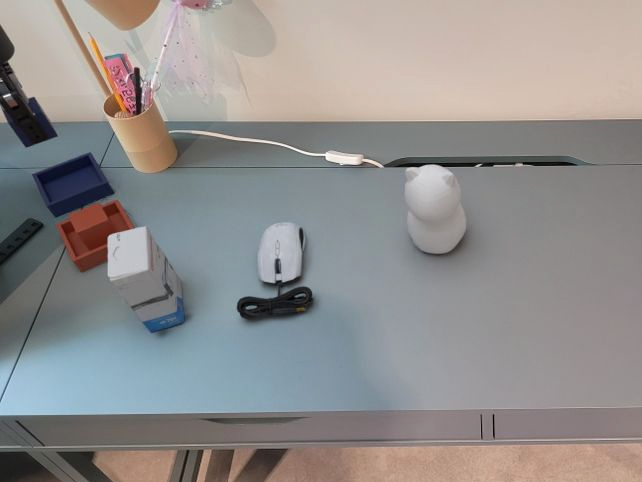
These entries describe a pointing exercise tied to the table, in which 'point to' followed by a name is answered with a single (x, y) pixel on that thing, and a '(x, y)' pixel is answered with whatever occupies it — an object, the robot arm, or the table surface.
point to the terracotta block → (92, 226)
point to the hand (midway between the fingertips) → (36, 131)
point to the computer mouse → (279, 271)
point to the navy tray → (72, 184)
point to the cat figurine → (434, 208)
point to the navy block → (41, 119)
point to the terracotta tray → (76, 245)
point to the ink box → (145, 278)
